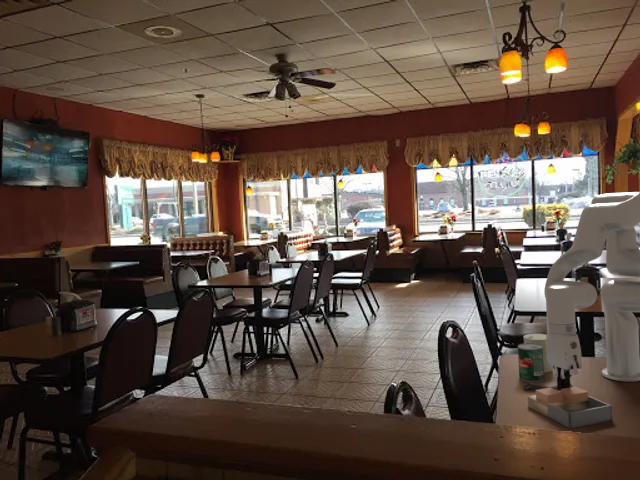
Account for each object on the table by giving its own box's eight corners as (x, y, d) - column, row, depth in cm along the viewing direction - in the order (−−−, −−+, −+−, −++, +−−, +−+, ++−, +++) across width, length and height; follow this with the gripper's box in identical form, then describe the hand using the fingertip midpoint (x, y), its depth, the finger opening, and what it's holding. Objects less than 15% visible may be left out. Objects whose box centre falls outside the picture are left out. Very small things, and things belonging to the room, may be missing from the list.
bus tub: (588, 409, 154) (588, 395, 154) (612, 420, 146) (611, 405, 146) (548, 417, 151) (547, 403, 150) (569, 428, 142) (569, 413, 142)
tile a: (575, 394, 158) (575, 386, 158) (588, 400, 153) (588, 391, 153) (561, 397, 156) (560, 389, 156) (573, 403, 152) (573, 394, 151)
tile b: (550, 395, 158) (550, 387, 158) (562, 401, 154) (562, 392, 153) (536, 398, 157) (535, 390, 157) (547, 404, 152) (547, 395, 152)
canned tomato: (514, 379, 184) (513, 347, 183) (525, 373, 189) (523, 342, 188) (538, 383, 178) (536, 350, 177) (548, 377, 183) (546, 345, 183)
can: (519, 367, 196) (517, 334, 195) (540, 363, 199) (539, 331, 198) (536, 374, 187) (535, 339, 186) (558, 370, 190) (557, 336, 189)
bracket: (520, 384, 180) (520, 376, 180) (568, 384, 178) (568, 375, 177) (528, 400, 166) (528, 391, 166) (581, 400, 163) (580, 391, 163)
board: (565, 399, 163) (565, 389, 163) (588, 409, 154) (587, 399, 154) (528, 406, 159) (527, 396, 159) (548, 417, 151) (548, 406, 151)
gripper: (591, 331, 151) (593, 396, 152) (554, 321, 166) (557, 381, 167) (568, 335, 149) (571, 401, 150) (533, 324, 164) (536, 385, 165)
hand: (563, 390), depth 159 cm, fingers closed
